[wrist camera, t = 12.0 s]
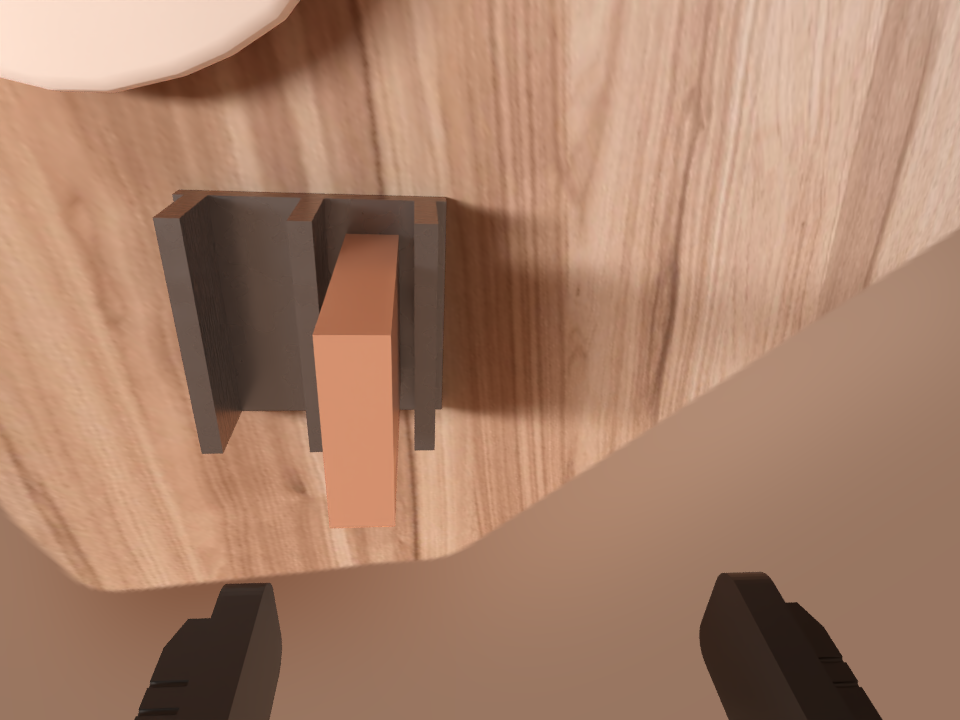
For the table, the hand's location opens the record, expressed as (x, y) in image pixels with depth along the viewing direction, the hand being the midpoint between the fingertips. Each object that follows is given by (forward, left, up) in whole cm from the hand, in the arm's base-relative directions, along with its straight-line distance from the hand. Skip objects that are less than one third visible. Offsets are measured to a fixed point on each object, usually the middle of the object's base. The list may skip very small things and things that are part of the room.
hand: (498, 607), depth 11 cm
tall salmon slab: (+7, -4, -27) cm, 28 cm away
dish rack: (+7, -7, -28) cm, 30 cm away
